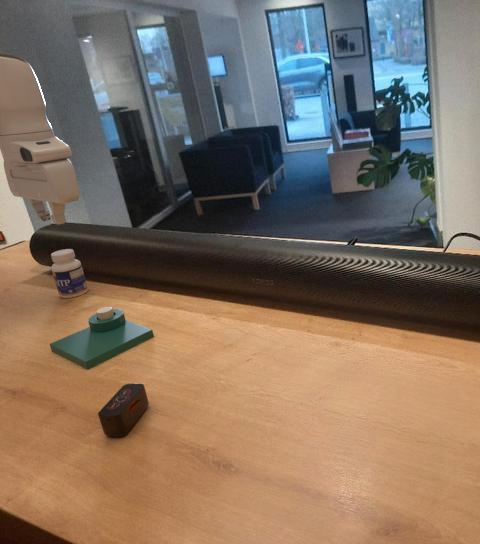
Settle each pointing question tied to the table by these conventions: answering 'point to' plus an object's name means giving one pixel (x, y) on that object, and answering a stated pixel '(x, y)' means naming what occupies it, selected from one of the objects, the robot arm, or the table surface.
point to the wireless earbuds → (123, 409)
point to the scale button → (105, 313)
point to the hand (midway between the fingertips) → (52, 222)
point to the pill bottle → (68, 274)
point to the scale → (101, 340)
